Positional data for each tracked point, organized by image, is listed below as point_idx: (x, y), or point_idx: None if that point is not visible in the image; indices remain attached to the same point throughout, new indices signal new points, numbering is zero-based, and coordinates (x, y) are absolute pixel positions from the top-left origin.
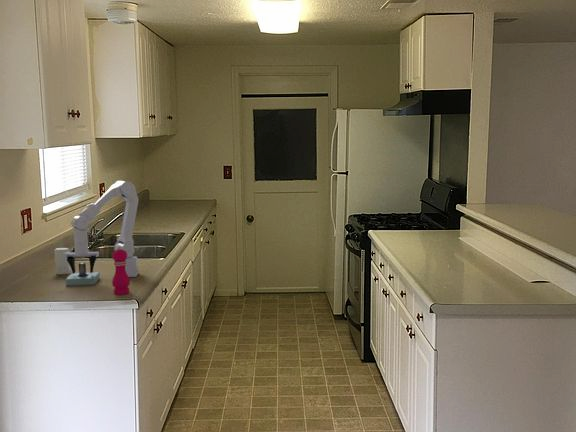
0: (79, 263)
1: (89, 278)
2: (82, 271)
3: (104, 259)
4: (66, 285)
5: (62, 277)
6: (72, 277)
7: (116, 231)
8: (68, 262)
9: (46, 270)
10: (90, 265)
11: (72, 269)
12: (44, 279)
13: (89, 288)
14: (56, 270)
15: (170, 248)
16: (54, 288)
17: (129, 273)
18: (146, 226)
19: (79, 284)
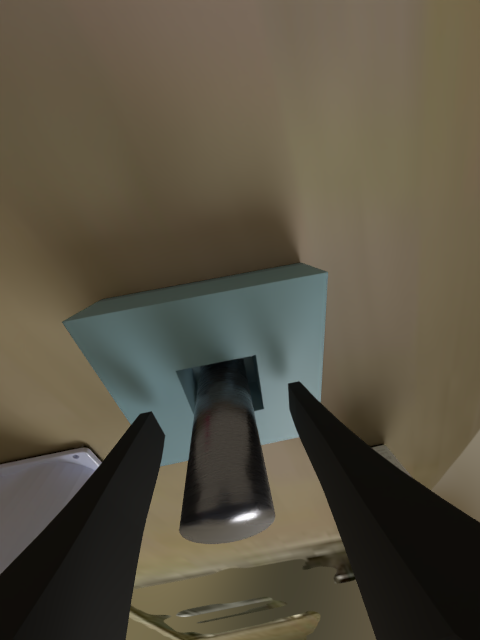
0: (266, 520)
1: (106, 313)
2: (212, 406)
3: (269, 557)
4: (300, 263)
5: (355, 417)
6: (284, 334)
7: (307, 619)
8: (452, 508)
9: (419, 473)
10: (92, 502)
11: (317, 409)
12: (432, 383)
13: (61, 178)
14: (398, 463)
15: (150, 617)
16: (375, 177)
17: (2, 488)
18: (269, 634)
19: (207, 281)
